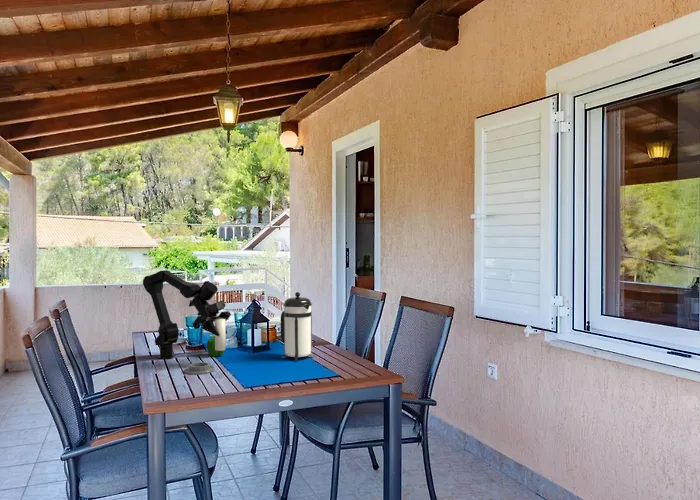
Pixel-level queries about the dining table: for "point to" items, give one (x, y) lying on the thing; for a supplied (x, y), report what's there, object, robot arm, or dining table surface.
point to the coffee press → (297, 327)
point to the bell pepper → (213, 348)
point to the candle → (221, 339)
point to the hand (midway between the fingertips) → (222, 334)
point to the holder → (199, 368)
